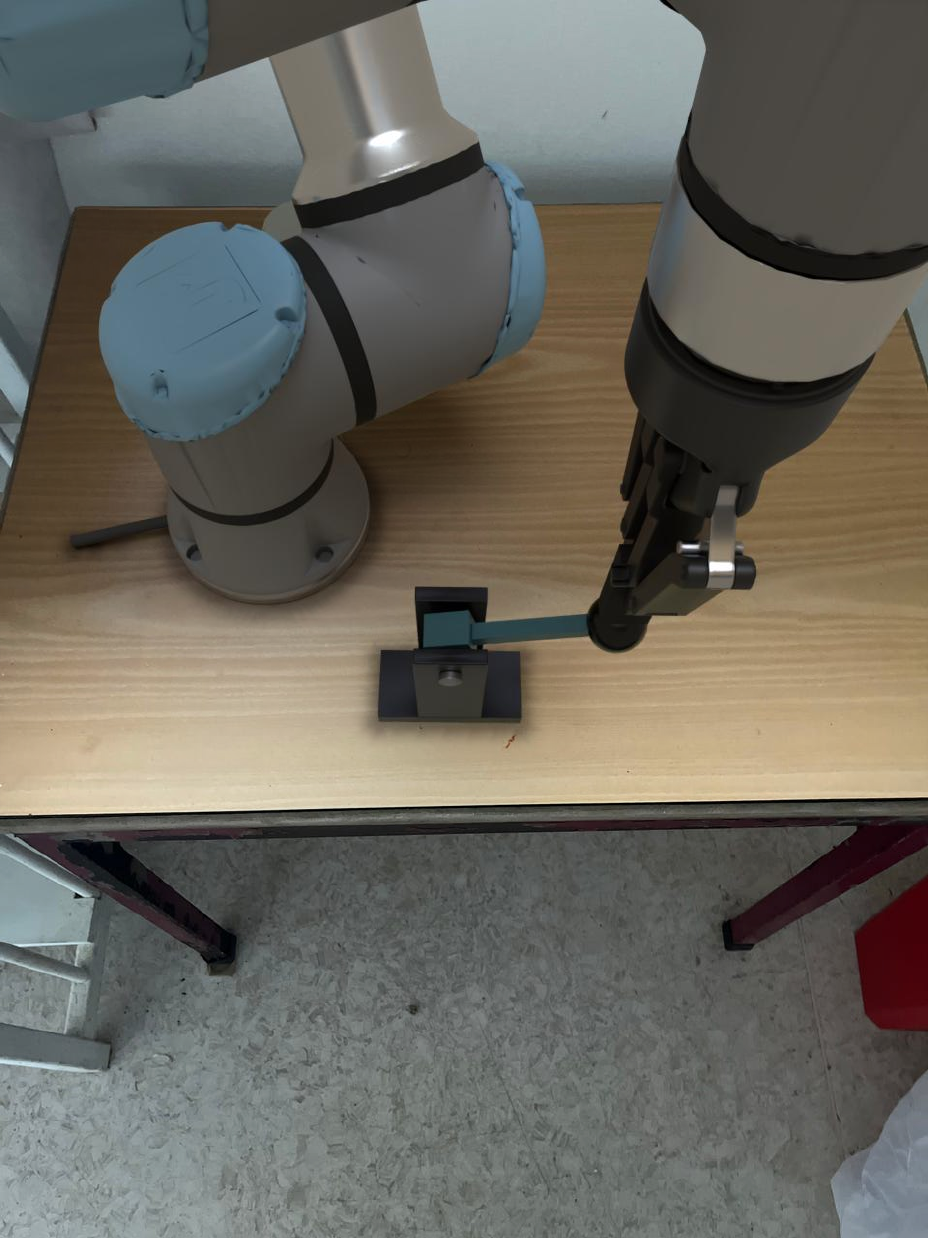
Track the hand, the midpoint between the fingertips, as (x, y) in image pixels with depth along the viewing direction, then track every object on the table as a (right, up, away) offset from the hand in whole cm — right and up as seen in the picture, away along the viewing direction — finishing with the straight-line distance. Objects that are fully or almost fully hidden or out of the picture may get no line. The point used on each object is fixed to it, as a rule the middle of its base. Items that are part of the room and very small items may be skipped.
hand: (623, 611), depth 48 cm
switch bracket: (-10, -5, +13) cm, 17 cm away
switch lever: (-4, -2, +4) cm, 6 cm away
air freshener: (-22, +26, +27) cm, 43 cm away
